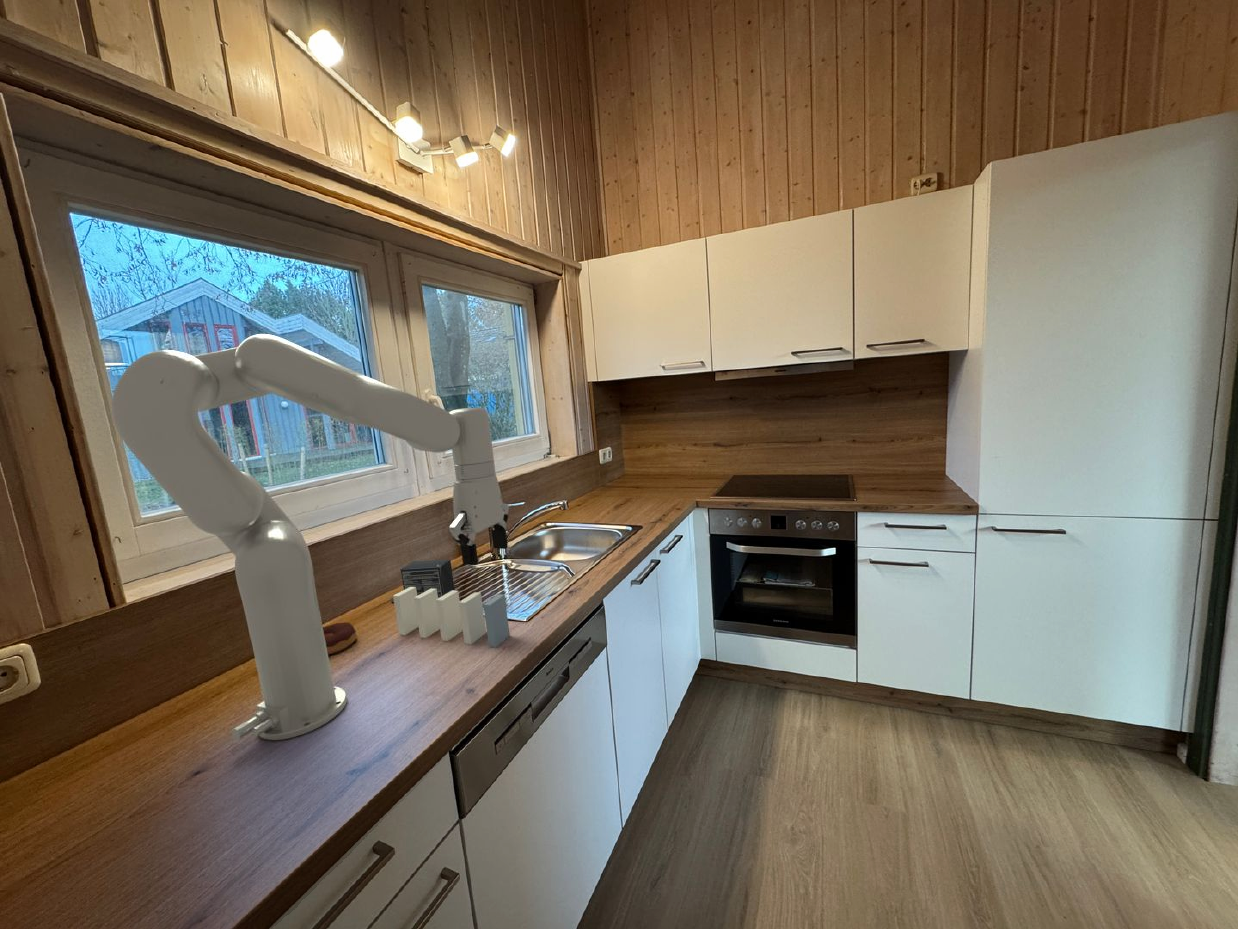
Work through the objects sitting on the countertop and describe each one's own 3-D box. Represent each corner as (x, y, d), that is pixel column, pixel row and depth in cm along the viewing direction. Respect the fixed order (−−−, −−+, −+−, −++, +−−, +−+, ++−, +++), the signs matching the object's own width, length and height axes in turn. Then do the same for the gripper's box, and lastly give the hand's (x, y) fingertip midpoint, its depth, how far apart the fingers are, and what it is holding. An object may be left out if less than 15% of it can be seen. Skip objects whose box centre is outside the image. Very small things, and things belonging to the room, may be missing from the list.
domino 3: (463, 630, 108) (458, 590, 107) (448, 641, 103) (441, 600, 102) (458, 629, 108) (452, 590, 107) (442, 640, 104) (435, 599, 103)
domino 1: (421, 624, 113) (415, 587, 111) (404, 635, 108) (398, 596, 107) (416, 624, 113) (410, 586, 112) (399, 634, 109) (392, 595, 107)
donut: (293, 663, 101) (289, 644, 100) (318, 639, 110) (315, 622, 110) (344, 656, 101) (341, 638, 101) (365, 634, 111) (362, 617, 110)
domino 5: (489, 646, 99) (483, 604, 98) (503, 635, 104) (498, 594, 103) (495, 647, 99) (489, 605, 97) (509, 635, 103) (504, 594, 102)
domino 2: (442, 627, 110) (436, 589, 109) (425, 638, 106) (419, 598, 104) (436, 626, 111) (431, 588, 110) (420, 637, 106) (413, 597, 105)
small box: (457, 596, 127) (451, 557, 126) (446, 607, 121) (440, 566, 120) (418, 598, 129) (412, 560, 127) (405, 609, 122) (399, 569, 121)
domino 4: (486, 632, 106) (480, 592, 104) (471, 644, 101) (465, 602, 100) (480, 632, 106) (474, 592, 105) (464, 643, 102) (458, 602, 100)
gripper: (486, 464, 106) (496, 542, 108) (428, 480, 90) (441, 570, 92) (516, 463, 103) (526, 543, 105) (461, 479, 87) (474, 572, 89)
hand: (486, 555), depth 99 cm, fingers open, 9 cm apart
